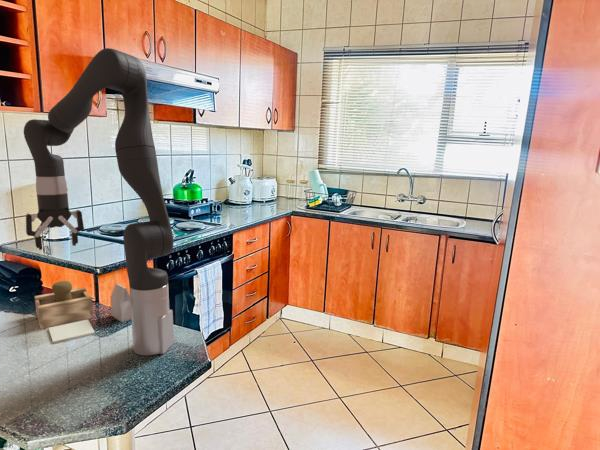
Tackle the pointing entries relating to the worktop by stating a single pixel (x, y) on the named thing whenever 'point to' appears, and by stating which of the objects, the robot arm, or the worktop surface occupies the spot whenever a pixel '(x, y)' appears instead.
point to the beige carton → (120, 303)
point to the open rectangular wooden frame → (63, 308)
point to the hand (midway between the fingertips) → (57, 247)
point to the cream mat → (71, 331)
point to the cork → (62, 291)
